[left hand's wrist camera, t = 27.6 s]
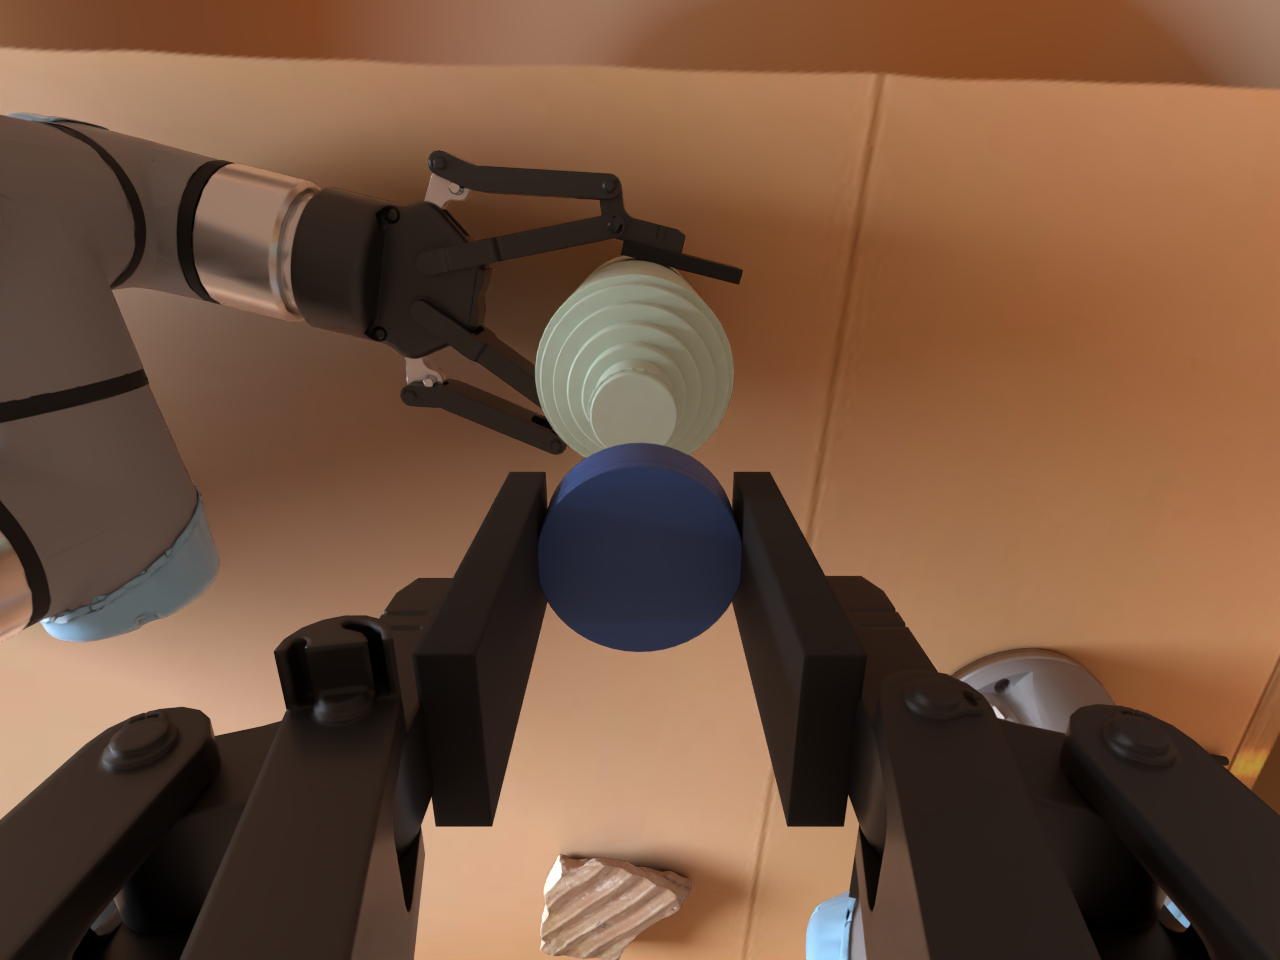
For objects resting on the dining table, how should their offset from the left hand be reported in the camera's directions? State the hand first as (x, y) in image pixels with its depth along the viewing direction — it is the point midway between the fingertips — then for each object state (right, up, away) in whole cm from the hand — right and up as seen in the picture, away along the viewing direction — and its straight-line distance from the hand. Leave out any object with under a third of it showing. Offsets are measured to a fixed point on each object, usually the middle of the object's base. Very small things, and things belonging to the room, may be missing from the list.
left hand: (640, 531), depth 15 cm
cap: (0, 0, -1) cm, 1 cm away
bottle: (0, +12, +30) cm, 32 cm away
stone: (-2, -37, +48) cm, 61 cm away
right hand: (+4, +8, +24) cm, 26 cm away
